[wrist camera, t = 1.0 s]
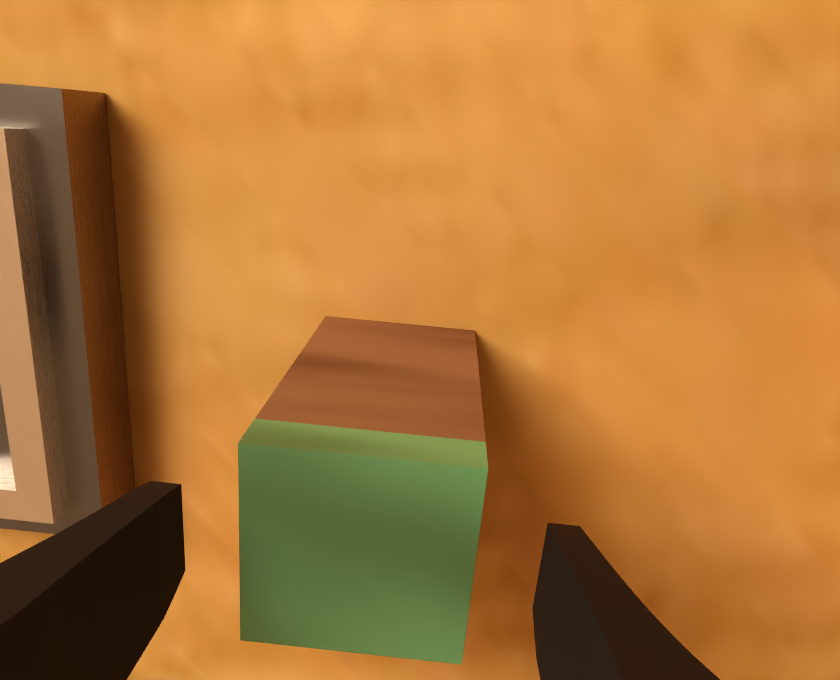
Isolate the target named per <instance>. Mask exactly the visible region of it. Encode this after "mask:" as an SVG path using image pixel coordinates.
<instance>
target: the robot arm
mask: <svg viewBox="0 0 840 680" xmlns="http://www.w3.org/2000/svg"><path fill="white" fill-rule="evenodd" d="M184 572H185V554H184V533H183V513H182V492H181V484H173V483H164V482H154V481H150V482H148V483H146V484H144V485H142V486H140V487H138V488H136V489H134V490H133V491H131V492H129V493H127V494H125V495H124V496H122V497H120V498H118V499H117V500H115V501H113V502H111V503H110V504H108V505H106V506H105V507H103V508H101V509H99V510H98V511H96V512H94V513H92V514H91V515H89V516H87V517H85V518H84V519H82V520H80V521H78V522H77V523H75V524H73V525H71V526H69V527H68V528H66V529H64V530H62V531H61V532H59V533H57V534H55V535H53V536H52V537H50V538H48V539H46V540H44V541H42V542H40V543H38V544H36V545H34V546H32V547H30V548H28V549H27V550H25V551H23V552H21V553H19V554H17V555H15V556H13V557H11V558H9V559H7V560H5V561H4V562H2V563H0V680H127V678H128V677H129V675H130V673H131V672H132V670H133V668H134V667H135V665H136V664H137V662H138V660H139V659H140V657H141V655H142V654H143V652H144V650H145V649H146V647H147V645H148V644H149V642H150V640H151V639H152V637H153V636H154V634H155V632H156V631H157V629H158V627H159V625H160V624H161V622H162V620H163V619H164V617H165V615H166V612H167V610H168V608H169V606H170V604H171V602H172V600H173V597H174V595H175V593H176V591H177V588H178V586H179V584H180V581H181V579H182V577H183V574H184ZM533 620H534V634H535V645H536V657H537V663H538V669H539V674H540V679H541V680H720V679H719V678H718V677H716V676H715V675H714V674H713V673H712V672H711V671H710V670H709V669H708V668H706V667H705V666H704V665H703V664H702V663H701V662H700V661H699V660H698V659H696V658H695V657H694V656H693V655H692V654H691V653H690V652H689V651H688V650H687V649H686V648H685V647H684V646H683V645H682V644H681V643H680V642H679V641H678V640H677V639H676V638H675V637H674V636H673V635H672V634H671V633H670V632H669V631H668V630H667V629H666V628H665V627H664V626H663V625H662V624H661V623H660V622H659V620H658V619H657V618H656V617H655V616H654V615H653V614H652V613H651V612H650V611H649V610H648V609H647V607H646V606H645V605H644V604H643V603H642V602H641V601H640V600H639V598H638V597H637V596H636V595H635V594H634V593H633V592H632V590H631V589H630V588H629V587H628V586H627V585H626V583H625V582H624V581H623V580H622V579H621V577H620V576H619V575H618V574H617V572H616V571H615V570H614V569H613V567H612V566H611V565H610V564H609V563H608V561H607V560H606V559H605V558H604V556H603V555H602V554H601V552H600V551H599V550H598V549H597V547H596V546H595V545H594V544H593V542H592V541H591V540H590V539H589V537H588V536H587V535H586V534H585V532H584V531H583V530H582V529H581V527H580V526H573V525H563V524H554V523H548V525H547V531H546V536H545V542H544V547H543V553H542V559H541V564H540V570H539V575H538V581H537V586H536V592H535V598H534V603H533Z"/></svg>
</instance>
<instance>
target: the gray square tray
mask: <svg viewBox="0 0 840 680" xmlns="http://www.w3.org/2000/svg"><path fill="white" fill-rule="evenodd" d="M134 489H135V485H134V472H133V459H132V445H131V432H130V418H129V405H128V391H127V378H126V364H125V351H124V338H123V324H122V311H121V297H120V284H119V270H118V257H117V244H116V230H115V217H114V203H113V190H112V176H111V163H110V149H109V136H108V123H107V109H106V96H105V93H98V92H88V91H78V90H68V89H58V88H46V87H35V86H24V85H13V84H2V83H0V528H4V529H14V530H23V531H33V532H42V533H51V534H57V533H59V532H61V531H62V530H64V529H66V528H68V527H69V526H71V525H73V524H75V523H77V522H78V521H80V520H82V519H84V518H85V517H87V516H89V515H91V514H92V513H94V512H96V511H98V510H99V509H101V508H103V507H105V506H106V505H108V504H110V503H111V502H113V501H115V500H117V499H118V498H120V497H122V496H124V495H125V494H127V493H129V492H131V491H133V490H134Z"/></svg>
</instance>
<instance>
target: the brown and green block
mask: <svg viewBox="0 0 840 680" xmlns="http://www.w3.org/2000/svg"><path fill="white" fill-rule="evenodd" d="M238 468H239V554H240V640H243V641H252V642H261V643H270V644H279V645H288V646H298V647H307V648H316V649H325V650H334V651H343V652H352V653H361V654H370V655H380V656H389V657H398V658H407V659H416V660H425V661H434V662H443V663H452V664H462V658H463V650H464V643H465V636H466V628H467V621H468V614H469V606H470V599H471V592H472V585H473V577H474V570H475V563H476V555H477V548H478V541H479V533H480V526H481V519H482V512H483V504H484V497H485V490H486V482H487V475H488V460H487V449H486V439H485V429H484V418H483V408H482V398H481V387H480V377H479V367H478V356H477V346H476V336H475V331H473V330H462V329H452V328H442V327H431V326H421V325H411V324H400V323H390V322H380V321H370V320H359V319H349V318H339V317H328V316H326V317H325V318H324V320H323V321H322V322H321V324H320V325H319V327H318V328H317V330H316V331H315V333H314V334H313V336H312V337H311V338H310V340H309V341H308V343H307V344H306V346H305V347H304V349H303V350H302V351H301V353H300V354H299V356H298V357H297V359H296V360H295V362H294V363H293V364H292V366H291V367H290V369H289V370H288V372H287V373H286V375H285V376H284V378H283V379H282V380H281V382H280V383H279V385H278V386H277V388H276V389H275V391H274V392H273V393H272V395H271V396H270V398H269V399H268V401H267V402H266V404H265V405H264V406H263V408H262V409H261V411H260V412H259V414H258V415H257V417H256V418H255V420H254V421H253V422H252V424H251V425H250V427H249V428H248V430H247V431H246V433H245V434H244V435H243V437H242V438H241V440H240V441H239V443H238Z"/></svg>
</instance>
